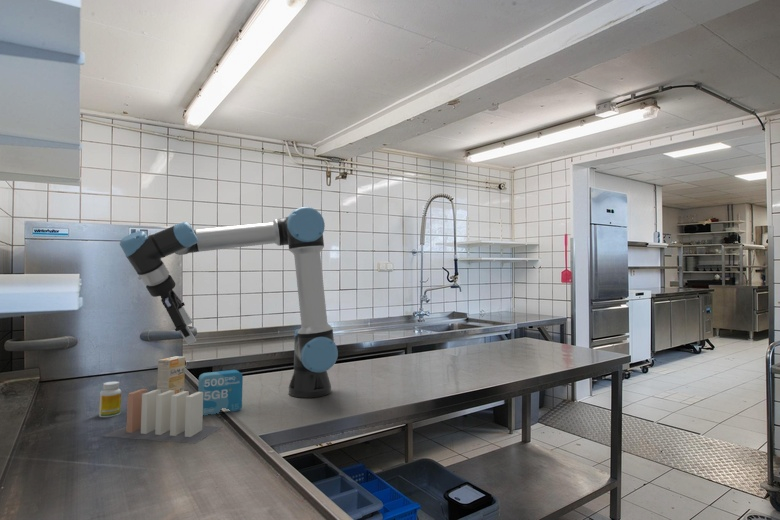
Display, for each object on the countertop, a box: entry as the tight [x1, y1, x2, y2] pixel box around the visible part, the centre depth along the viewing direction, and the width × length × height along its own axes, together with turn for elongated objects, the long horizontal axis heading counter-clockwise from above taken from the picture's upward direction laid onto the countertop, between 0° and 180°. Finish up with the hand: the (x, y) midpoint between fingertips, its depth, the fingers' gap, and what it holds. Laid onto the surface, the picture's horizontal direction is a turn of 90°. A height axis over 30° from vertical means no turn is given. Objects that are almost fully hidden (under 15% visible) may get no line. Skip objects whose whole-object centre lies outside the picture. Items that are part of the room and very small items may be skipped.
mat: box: [102, 424, 223, 444], centre depth 112 cm, size 26×12×1 cm, turn 81°
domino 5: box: [185, 391, 204, 437], centre depth 111 cm, size 2×5×10 cm, turn 171°
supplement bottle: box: [98, 381, 122, 418], centre depth 126 cm, size 5×5×10 cm
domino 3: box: [155, 390, 175, 435], centre depth 112 cm, size 2×5×10 cm, turn 171°
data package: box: [197, 369, 244, 416], centre depth 130 cm, size 12×4×12 cm, turn 123°
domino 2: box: [141, 389, 161, 434], centre depth 113 cm, size 2×5×10 cm, turn 171°
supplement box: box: [156, 355, 186, 394], centre depth 148 cm, size 8×5×13 cm, turn 168°
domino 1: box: [126, 388, 148, 433], centre depth 114 cm, size 2×5×10 cm, turn 171°
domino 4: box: [170, 390, 190, 436], centre depth 112 cm, size 2×5×10 cm, turn 171°
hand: (190, 333), depth 140 cm, fingers open, 13 cm apart
